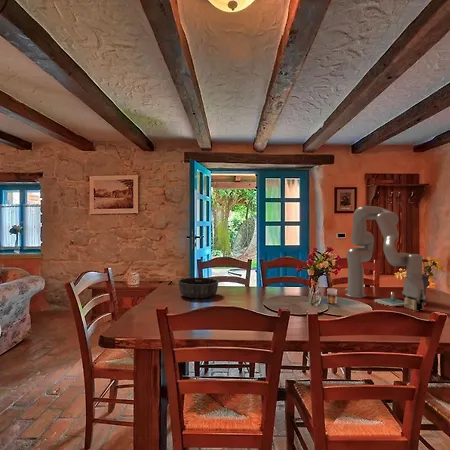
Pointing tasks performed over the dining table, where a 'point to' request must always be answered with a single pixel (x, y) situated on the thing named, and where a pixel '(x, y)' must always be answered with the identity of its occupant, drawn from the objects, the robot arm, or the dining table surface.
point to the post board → (390, 302)
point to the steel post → (392, 296)
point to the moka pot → (425, 283)
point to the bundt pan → (198, 287)
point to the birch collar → (411, 303)
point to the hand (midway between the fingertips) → (413, 308)
